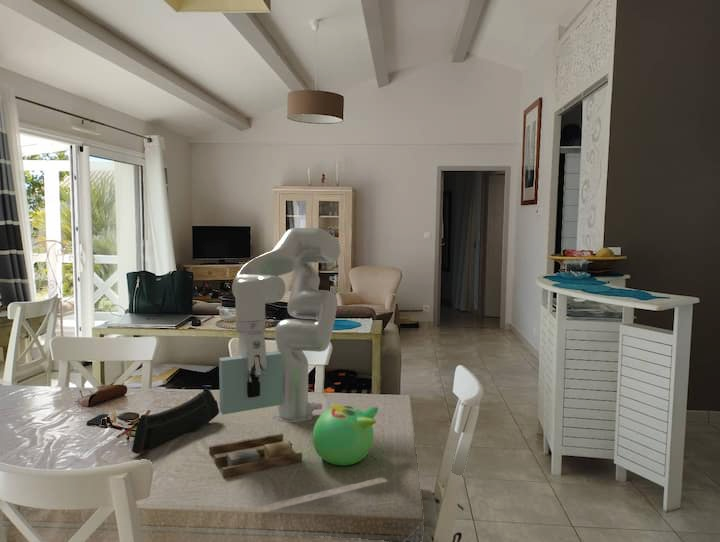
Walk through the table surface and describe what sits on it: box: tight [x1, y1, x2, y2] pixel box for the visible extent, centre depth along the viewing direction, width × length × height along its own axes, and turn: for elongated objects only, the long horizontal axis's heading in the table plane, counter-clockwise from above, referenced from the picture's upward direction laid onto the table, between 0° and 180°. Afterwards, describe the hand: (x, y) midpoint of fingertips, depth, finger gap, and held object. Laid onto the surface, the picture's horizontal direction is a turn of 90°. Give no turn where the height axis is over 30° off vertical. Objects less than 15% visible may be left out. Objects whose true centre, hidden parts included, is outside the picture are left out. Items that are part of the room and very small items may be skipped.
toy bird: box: [312, 403, 379, 467], centre depth 136 cm, size 18×17×15 cm
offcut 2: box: [264, 440, 293, 459], centre depth 135 cm, size 6×4×4 cm, turn 118°
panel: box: [218, 350, 283, 416], centre depth 138 cm, size 16×3×14 cm, turn 118°
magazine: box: [131, 388, 220, 455], centre depth 149 cm, size 17×3×30 cm
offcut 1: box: [227, 449, 260, 467], centre depth 131 cm, size 7×4×3 cm, turn 118°
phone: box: [86, 413, 109, 427], centre depth 161 cm, size 8×1×15 cm
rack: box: [208, 432, 303, 480], centre depth 136 cm, size 20×16×3 cm
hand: (251, 393), depth 139 cm, fingers closed on panel, 3 cm apart
